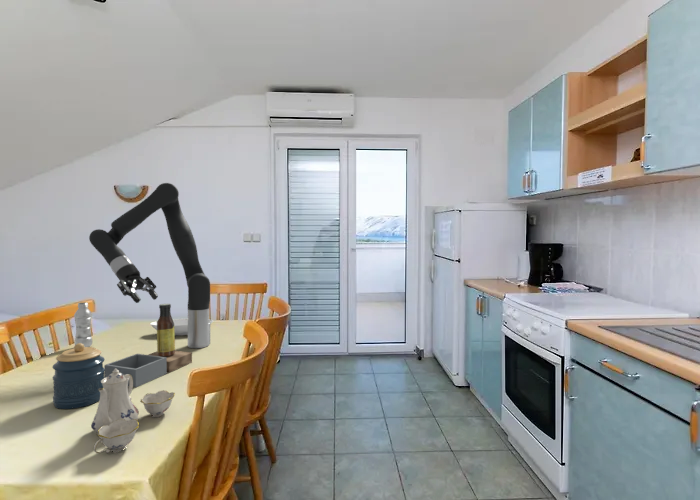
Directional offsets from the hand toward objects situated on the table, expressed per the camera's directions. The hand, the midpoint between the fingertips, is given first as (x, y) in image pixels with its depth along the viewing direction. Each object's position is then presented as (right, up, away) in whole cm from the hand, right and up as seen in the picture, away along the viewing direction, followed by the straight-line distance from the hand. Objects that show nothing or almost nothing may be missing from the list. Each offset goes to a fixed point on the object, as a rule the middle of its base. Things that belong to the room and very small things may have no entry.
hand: (147, 299), depth 151 cm
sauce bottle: (+8, -22, -2) cm, 23 cm away
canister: (-3, -27, -34) cm, 43 cm away
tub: (+4, -26, -15) cm, 30 cm away
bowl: (-6, -24, +46) cm, 52 cm away
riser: (+8, -25, -2) cm, 27 cm away
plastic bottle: (-39, -24, +19) cm, 50 cm away
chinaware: (+21, -28, -51) cm, 62 cm away
